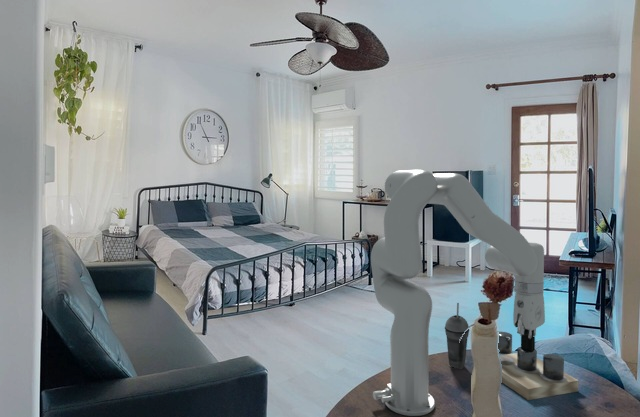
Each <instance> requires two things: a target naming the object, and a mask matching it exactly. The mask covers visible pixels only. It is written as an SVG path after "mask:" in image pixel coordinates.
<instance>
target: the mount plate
mask: <svg viewBox="0 0 640 417" xmlns="http://www.w3.org/2000/svg"><path fill="white" fill-rule="evenodd" d="M500 359H501V364H502V382H501V383H502V384H504V385H506V386H507V387H508V388H510V389H511V390H513V391H514V392H516V393H517V394H519V395H520V396H521V397H523V398H525V400H527V401H531V400H532V401H533V400H537V399H543V398H549V397H553V396H555V397H556V396H558V395H559V396H560V395H564V394H570V393H576V392H579V379H577V378H575V377H573V376H572V375H569V373H568V374H567V373H566V372H564V378H563V379H562V380H553V379H549V378H547V377H545V376H544V375H543V359H542V360H541V359H540V358H538V357H537V369H536V370H535V371H526V370H522V369H520V368H518V367H517V352H513V353H511V354H500Z"/></svg>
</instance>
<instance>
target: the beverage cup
mask: <svg viewBox="0 0 640 417" xmlns="http://www.w3.org/2000/svg"><path fill="white" fill-rule="evenodd" d="M459 310H460V303H459V302H456V315H452V316H450V317H448V318H447V320H446V322H445V326H444V331H445V335H446V344H447V345H446V348H447V357H448V366H449V365H450V366H452V367H454V368H453V369H456V368H461V369H464V368H465V364H466V356H467V346H468V338H469V335H470V328H469V329H468V330H467V331H466V332H465V334H464V335H463V337H462V339H461V341H460V343H459V339H460V337H461V336H462V334H463V333H464V331H465V330H466V329H467V328H468V327H470V326H469V323H468V321H467V319H466V318H464V317H463V316H461V315H459V314H460V313H459ZM450 366H449V367H450ZM452 367H451V368H452ZM463 367H464V368H463Z"/></svg>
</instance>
